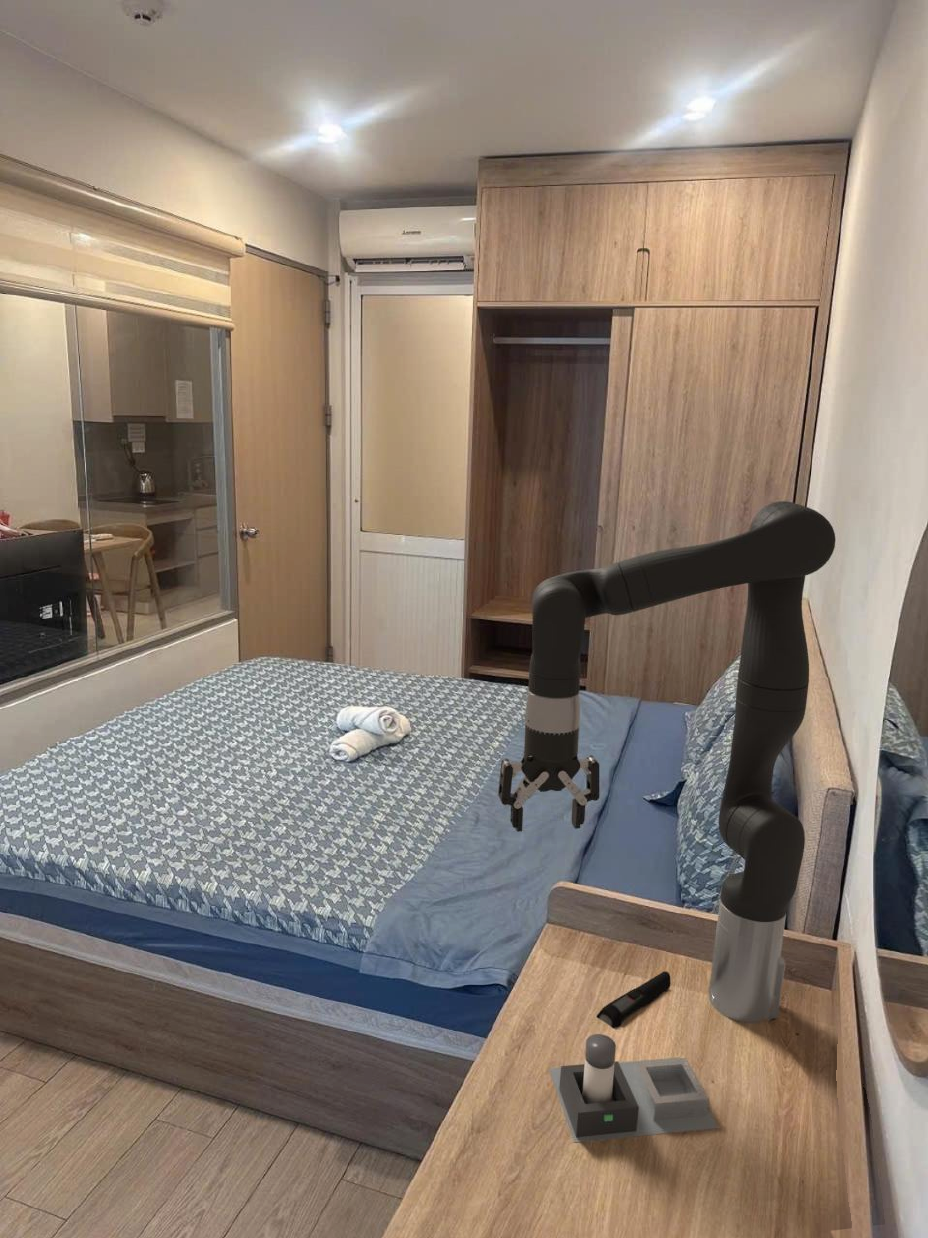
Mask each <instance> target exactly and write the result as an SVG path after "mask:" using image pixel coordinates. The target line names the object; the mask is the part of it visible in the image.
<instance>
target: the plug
mask: <svg viewBox="0 0 928 1238" xmlns="http://www.w3.org/2000/svg"><path fill="white" fill-rule="evenodd" d="M616 1047H617V1044H616V1042H615V1041H614V1039H613V1038H611V1037H610V1036H608V1035H605V1034H602V1033H596V1034H592V1035H590V1036H588V1037H587V1038H586V1041H585V1052H584V1053H585V1054H584V1055H585V1056H584V1064H585V1066H584V1080H583V1095H582V1098H583V1101H584V1103H585V1104H592V1103H602V1102H611V1101H612V1089H613V1076H614V1063H615V1062H616V1061H615V1060H616Z"/></svg>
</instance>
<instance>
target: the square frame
mask: <svg viewBox="0 0 928 1238" xmlns="http://www.w3.org/2000/svg"><path fill="white" fill-rule="evenodd" d="M634 1080H635V1082H636V1085H637V1087H638V1089H639V1091H640V1093H641V1095H642V1097H643V1099H644V1102H645V1104H646V1106H647V1108H648V1110H649V1112H650V1114H651V1117H652V1119H653V1121H656V1120H666V1119H676V1118H686V1117H696V1116H707V1109H709V1102H710V1101H709V1100H710V1099H709V1096H708V1095H707V1093H706V1091H705V1089H704V1087H703V1086H702V1084H701V1081H700V1080H699V1079H698V1077H697V1075H696V1073H695V1072H694V1070H693V1068H692V1066H691V1065H690V1062H689V1061H688V1058H686V1057H682V1058H681V1057H680V1058H679V1059H668V1060H656V1061H644V1062H635V1071H634ZM678 1080H680V1081H681V1083H682V1085H683V1087H684V1089H685V1091H686V1093H687V1094H684V1095H673V1096H662V1097H660V1096H659V1094H658V1092H657V1090H656V1088H655V1086H654V1084H653V1083H656V1082H667V1081H678Z"/></svg>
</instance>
